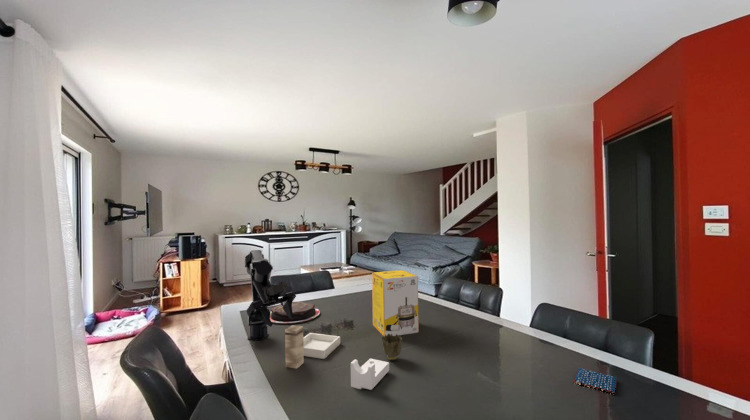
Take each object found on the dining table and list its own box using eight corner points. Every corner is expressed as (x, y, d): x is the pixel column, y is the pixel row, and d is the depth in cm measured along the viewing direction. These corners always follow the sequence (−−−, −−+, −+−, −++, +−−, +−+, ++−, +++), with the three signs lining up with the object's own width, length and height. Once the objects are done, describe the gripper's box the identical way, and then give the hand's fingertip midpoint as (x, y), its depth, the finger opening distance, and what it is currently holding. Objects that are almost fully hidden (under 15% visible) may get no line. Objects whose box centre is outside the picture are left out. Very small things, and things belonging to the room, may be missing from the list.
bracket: (371, 393, 94) (371, 367, 95) (350, 387, 98) (350, 362, 98) (389, 373, 106) (388, 350, 106) (370, 368, 109) (370, 346, 109)
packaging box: (404, 320, 156) (403, 270, 157) (418, 332, 141) (417, 276, 141) (372, 324, 151) (372, 272, 152) (384, 337, 136) (383, 279, 136)
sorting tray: (291, 354, 121) (291, 346, 121) (310, 339, 134) (309, 332, 134) (324, 358, 116) (324, 350, 116) (340, 343, 130) (340, 336, 130)
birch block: (285, 366, 111) (284, 329, 111) (292, 360, 115) (292, 325, 115) (296, 368, 109) (296, 330, 110) (303, 362, 114) (303, 326, 114)
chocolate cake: (279, 307, 182) (279, 296, 183) (326, 309, 179) (326, 297, 179) (254, 324, 155) (254, 311, 155) (309, 326, 151) (309, 313, 151)
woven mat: (577, 372, 105) (577, 366, 105) (617, 382, 99) (617, 376, 99) (572, 385, 97) (572, 379, 97) (615, 398, 91) (615, 391, 91)
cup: (404, 356, 118) (404, 334, 118) (399, 365, 111) (399, 342, 111) (385, 353, 120) (385, 332, 120) (379, 362, 113) (379, 339, 113)
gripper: (250, 280, 113) (269, 317, 107) (293, 271, 128) (311, 303, 122) (239, 298, 118) (256, 334, 112) (281, 287, 133) (298, 319, 127)
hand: (282, 322), depth 118 cm, fingers open, 9 cm apart
